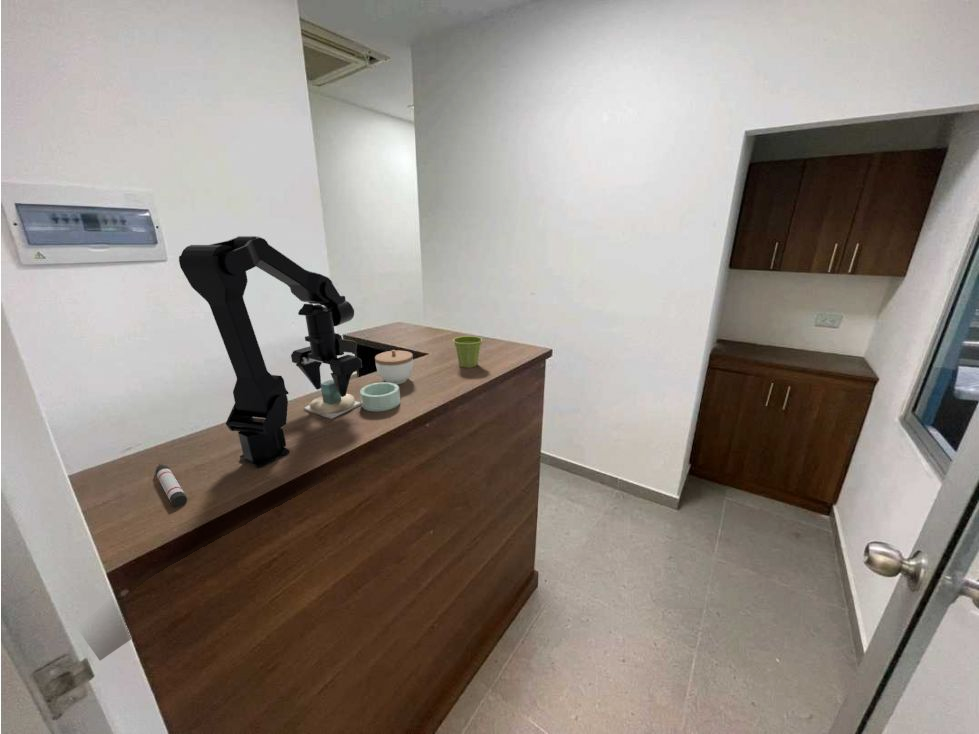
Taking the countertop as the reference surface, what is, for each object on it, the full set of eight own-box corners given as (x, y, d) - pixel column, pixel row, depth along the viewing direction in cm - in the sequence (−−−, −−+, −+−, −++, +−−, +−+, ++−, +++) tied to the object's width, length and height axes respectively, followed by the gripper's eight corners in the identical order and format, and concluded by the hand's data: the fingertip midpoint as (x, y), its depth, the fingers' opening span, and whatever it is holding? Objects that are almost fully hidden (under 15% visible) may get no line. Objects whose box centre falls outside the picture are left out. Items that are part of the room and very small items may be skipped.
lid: (329, 418, 89) (325, 394, 87) (301, 408, 94) (296, 385, 92) (363, 401, 97) (360, 379, 95) (336, 393, 102) (333, 372, 100)
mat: (331, 418, 90) (331, 416, 90) (304, 409, 94) (304, 407, 94) (361, 404, 97) (360, 402, 97) (334, 396, 102) (334, 394, 102)
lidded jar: (405, 388, 107) (403, 357, 104) (370, 386, 109) (367, 354, 106) (420, 375, 117) (417, 346, 114) (387, 373, 119) (384, 344, 116)
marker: (188, 503, 62) (185, 493, 62) (173, 509, 61) (170, 499, 60) (167, 467, 72) (164, 458, 71) (154, 472, 70) (151, 463, 70)
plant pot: (451, 362, 129) (450, 337, 126) (478, 359, 131) (477, 334, 128) (457, 371, 120) (456, 344, 117) (486, 368, 123) (485, 342, 120)
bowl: (381, 414, 92) (379, 399, 90) (353, 406, 96) (351, 391, 95) (407, 400, 99) (406, 386, 98) (381, 393, 104) (379, 379, 102)
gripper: (375, 328, 91) (382, 388, 97) (324, 320, 100) (332, 375, 105) (337, 339, 82) (346, 405, 87) (284, 329, 91) (295, 389, 96)
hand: (330, 392), depth 94 cm, fingers open, 9 cm apart
